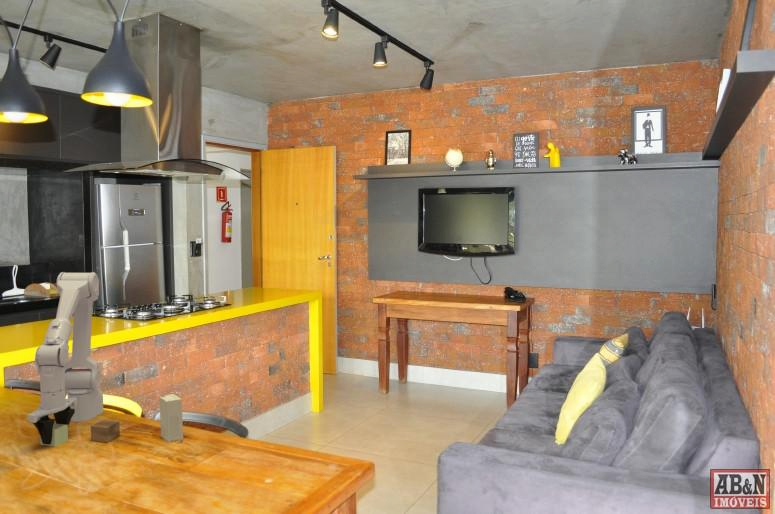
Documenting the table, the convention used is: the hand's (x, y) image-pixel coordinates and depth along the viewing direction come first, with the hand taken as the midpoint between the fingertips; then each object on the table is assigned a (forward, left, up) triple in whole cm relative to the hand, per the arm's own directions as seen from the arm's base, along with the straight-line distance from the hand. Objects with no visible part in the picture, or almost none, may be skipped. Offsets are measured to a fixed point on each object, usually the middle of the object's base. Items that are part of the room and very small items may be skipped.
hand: (54, 440), depth 161 cm
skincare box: (-12, +27, -2) cm, 30 cm away
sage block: (0, 0, -1) cm, 1 cm away
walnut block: (-6, +11, 0) cm, 13 cm away
